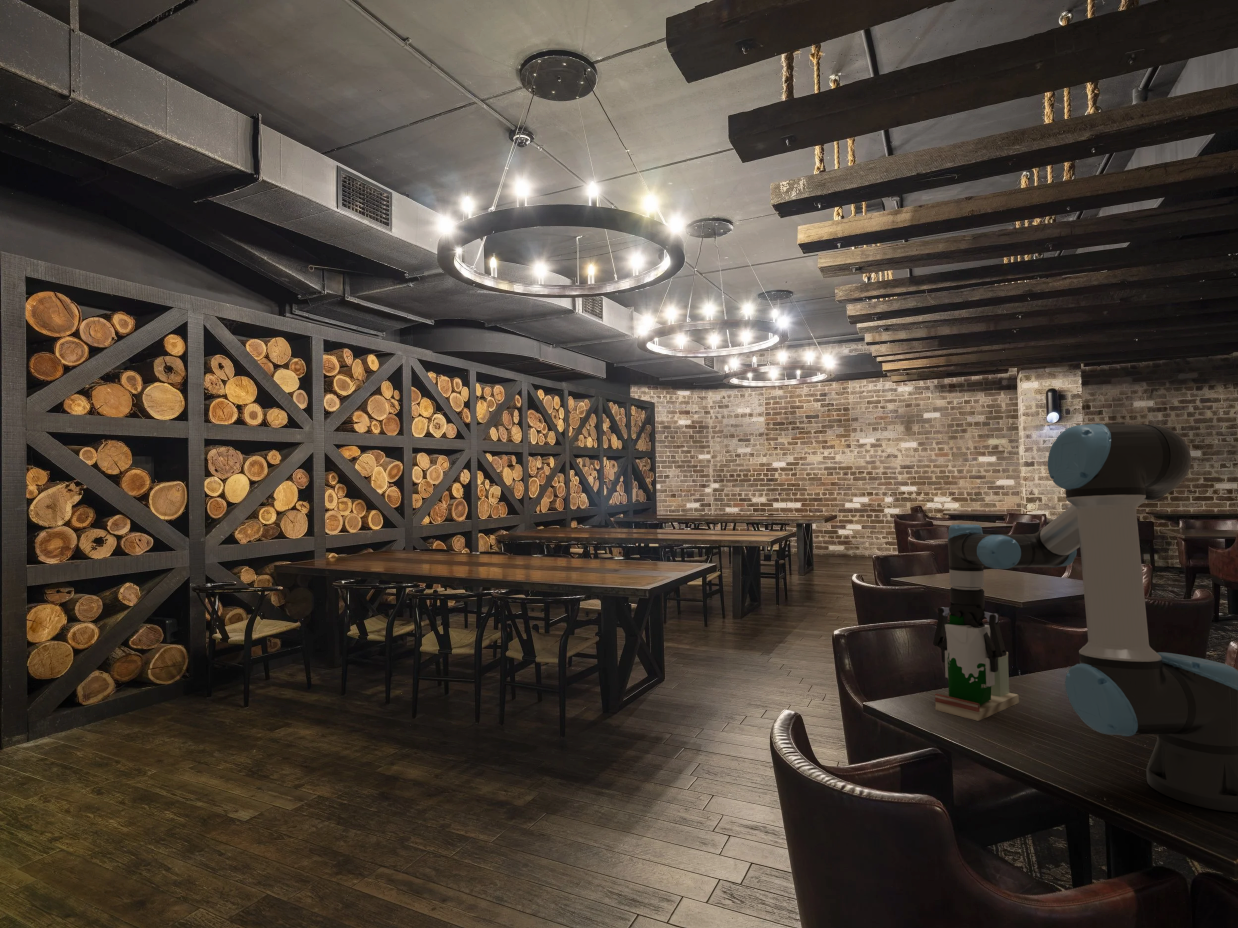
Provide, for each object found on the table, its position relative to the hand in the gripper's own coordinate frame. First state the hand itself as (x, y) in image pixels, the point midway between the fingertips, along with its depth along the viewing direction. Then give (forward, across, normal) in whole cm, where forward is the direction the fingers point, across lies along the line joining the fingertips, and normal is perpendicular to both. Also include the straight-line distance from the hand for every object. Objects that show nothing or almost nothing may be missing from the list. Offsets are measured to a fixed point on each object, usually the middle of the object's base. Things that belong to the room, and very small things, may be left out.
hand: (969, 680), depth 161 cm
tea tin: (+5, 0, -12) cm, 13 cm away
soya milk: (+5, 0, 0) cm, 5 cm away
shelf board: (+7, 0, -4) cm, 8 cm away
